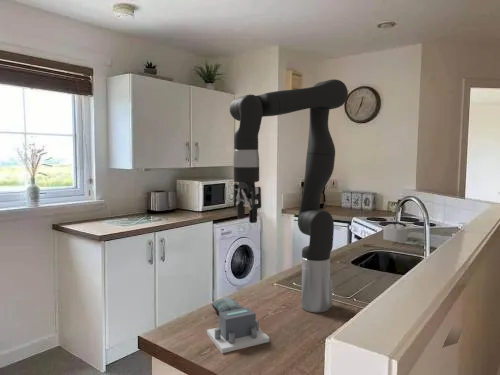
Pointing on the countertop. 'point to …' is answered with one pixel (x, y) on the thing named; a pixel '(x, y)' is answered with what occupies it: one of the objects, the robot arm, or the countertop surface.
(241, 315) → the block
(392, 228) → the lumpy-topped squat cylinder
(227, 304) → the packaged food
